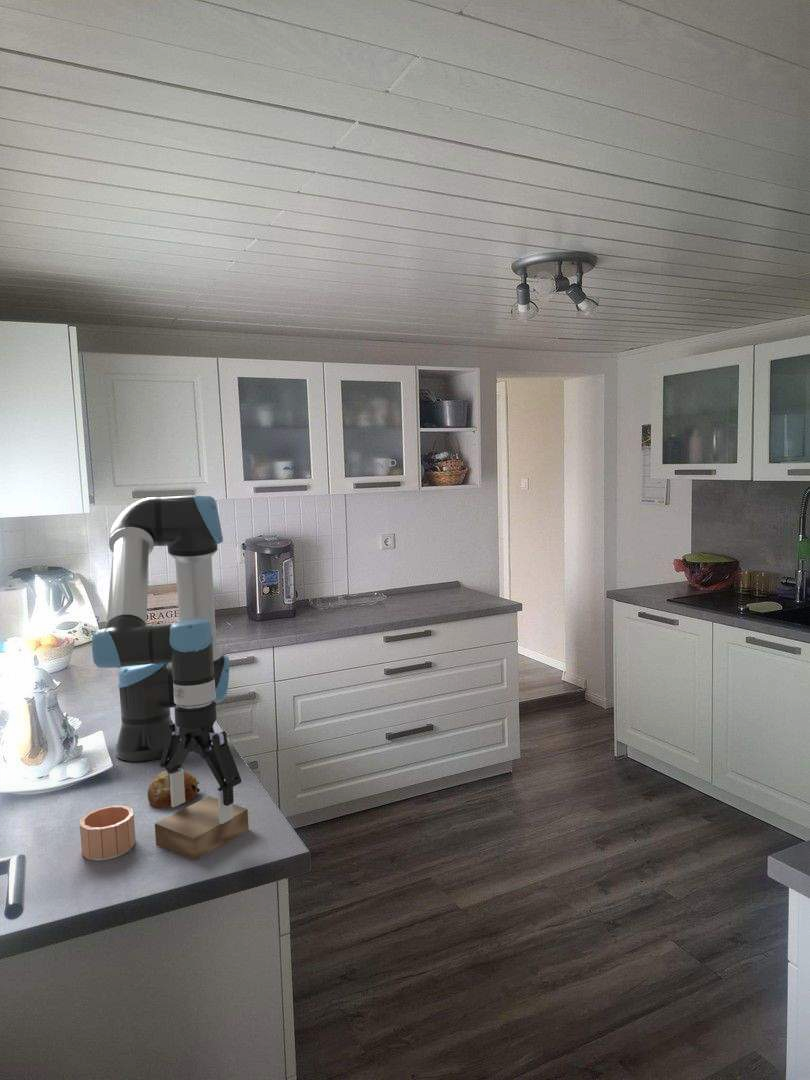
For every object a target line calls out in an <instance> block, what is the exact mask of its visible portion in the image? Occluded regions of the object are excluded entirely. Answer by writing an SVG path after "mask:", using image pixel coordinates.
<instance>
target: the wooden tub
mask: <svg viewBox="0 0 810 1080" xmlns="http://www.w3.org/2000/svg"><path fill="white" fill-rule="evenodd" d="M134 815H135V813H134V809H133V808H132V807H129V806H127V805H109V806H104V807H99V808H96V809H93V810H92V811H90V812H87V813H86V814H84V815H83V816H82V817H81V818H80V819H79V831H80V843H81V844H80V845H81V847H80V848H81V854H82V856H83V857H84V858H85V859H86V860H88V861H89V860H90V861H96V862H98V861H107V860H112V859H115V858H119V857H120V856H123V855H125V854H126V853H128V852H129V851H131V850H132V849H133V847H134V846H135V844H136V842H137V841H136V840H137V839H136V827H135V826H136V825H135V816H134Z"/></svg>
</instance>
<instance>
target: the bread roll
mask: <svg viewBox="0 0 810 1080" xmlns="http://www.w3.org/2000/svg"><path fill="white" fill-rule="evenodd" d="M183 772H184V788H185V802H184V803H182V804H180V805H178V806H177V807H179V806H182V805H184V804H188V803H190V802H191V801H193V800H194V799H195V798H196V796H197V794H198V793H199V792H200V791H201V789H200V788H199V787H198V785H199V784H200V781H198V780H197V778H196V777H195V776H193V775H191V774H189V773H188V772H186V771H184V770H183ZM147 801H148V803H149V804H150V805H151V806H153V807H155V808H161V809H164V808H173V807H172V806H171V792H170V786H169V775H168V772H167V771H166V769H165V770H162V771H161V772H159V773H158V775H156V776H155V777H154V779H152V781H151V782H150V784H149V786H148V788H147Z"/></svg>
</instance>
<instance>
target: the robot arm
mask: <svg viewBox="0 0 810 1080" xmlns="http://www.w3.org/2000/svg"><path fill="white" fill-rule="evenodd" d="M219 515H220V514H219V511H218V506H217V502H216V499H215V498H213V497H212V496H211V495H196V494H194V495H177V496H159V497H158V496H157V497H156V496H152V497H151V496H150V497H146V498H142V499H139V500H138V501H135V502H133V503H132V504H130V505H129V506H128V507H126V508H125V509H124V510H123V511H121V513H120V514H119V515H118V517H117V519H116V520H115V521H114V523H113V524H112V526H111V529H110V532H109V537H108V547H109V549H110V552H111V553H112V559H111V568H110V569H111V570H110V579H109V592H108V593H109V594H108V602H107V612H106V613H107V614H106V615H107V616H106V625H105V627H106V628H105V627H104V628H102V629H97V630H95V631H94V633H93V635H92V637H91V640H92V641H91V652H92V660H93V663H94V665H95V666H96V667H97V668H98V669H119V668H120V669H119V671H118V688H119V702H120V715H121V716H120V717H121V725H120V730H119V733H118V738H117V742H116V744H115V755H117V756H116V758H118V759H119V758H120V759H119V760H121V759H122V761H124V760H126V762H147V761H153V760H157V759H160V761H159V767H160V768H161V769H162V768H163V769H164V768H165V770H166V771H167V772H168V775H169V786H170V792H171V806H172V807H171V808H175V807H179V806H178V805H180V804H182V803H184V802H185V788H184V772H185V771H184V769H182V768H183V763H184V762H185V760H186V758H187V757H188V755H189V754H190V753H193V752H194V753H195V754H198V755H200V757H201V759H203V760H205V761H206V763H207V765H208V768H209V769H210V771H211V773H212V775H213V777H214V779H215V780H216V782H217V784H218V785H219V787H217V788H216V793H217V795H216V796H217V799H218V813H219V823H220V824H223V823H225V822H227V821H229V820H231V819H233V807H232V804H234V801H235V799H234V787H236V786H237V785H240V784H242V778H241V775H240V773H239V770H238V768H237V764H236V762H235V759H234V757H233V754H232V752H231V749H230V746H229V743H228V735H227V732H226V731H225V730H223V731H221V732H215V729H214V724H215V722H216V721H217V718H218V716H217V715H218V713H217V703H221V702H223V701H224V700H225V699H226V698H227V696H228V689H229V679H230V657H229V656H228V655H225V654H224V651H223V649H222V648H221V647H220V646H219V645H217V635H216V633H217V632H216V627H217V626H216V614H215V613H216V611H215V610H216V609H215V597H214V595H215V594H214V577H213V576H214V575H213V561H212V560H213V558H212V557H213V556H214V555H215V554H216V553H217V552H218V544H219V545H220V544H221V543H223V541H224V538H223V537H224V536H223V532H222V527H221V522H220V521H221V520H220V516H219ZM154 547H167V554H168V555H169V556H170V557H172V558H173V559H174V563H175V575H176V576H175V577H176V590H177V592H176V593H177V604H178V605H177V606H178V619H179V620H177V621H176V622H173V623H167V624H156V625H154V624H153V625H147V624H148V623H147V620H148V618H147V617H148V616H147V615H148V592H149V585H148V584H149V567H150V566H149V562H150V561H149V560H150V558H149V557H150V554H151V553H152V552H153V550H154ZM171 708H173V709H174V722H173V720H172V717H171V715H172V714H171ZM183 771H184V772H183ZM180 806H181V805H180Z"/></svg>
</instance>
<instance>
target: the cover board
mask: <svg viewBox="0 0 810 1080" xmlns="http://www.w3.org/2000/svg"><path fill="white" fill-rule="evenodd" d="M232 807H233V819H231V820H229V821H227V822H225V823H223V824H220V823H219V813H218V798H215V797H212V796H211V795H210V796H207V797H204V798H203V799H201V800H199V801H196V802H195V803H193V804H191V805H188V806H187V807H184V808H182V809H181V810H179V811H176V812H175V813H173V814H170V815H168V816H167V817H164V818H162V819H160V820H159V821H155V822H154V834H155V835H154V836H155V844H156V846H159V847H161V848H164V849H166V850H168V851H171V852H174V853H175V854H177V855H181V856H183V857H185V858H187V857H188V859H190V860H192V859H193V861H195V860H196V859H197V860H199V859H201V858H202V857H204V856H206V855H208V854H209V853H211V852H212V850H213V851H214V850H216V849H218V848H220V847H221V846H223V845H224V843H225V844H227V843H228V842H230V841H232V840H233V839H235V838H237V837H239V836H240V835H242V834H244V833H245V832H247V831H249V828H250V827H249V813H248V812H249V811H248V808H245V807H242V806H239V805H237V804H234V803H232ZM236 836H237V837H236ZM231 839H232V840H231ZM229 840H230V841H229ZM222 844H223V845H222ZM219 846H220V847H219ZM217 847H218V848H217ZM210 851H211V852H210ZM208 852H209V853H208ZM207 853H208V854H207ZM205 854H206V855H205ZM203 855H204V856H203ZM201 856H202V857H201ZM200 857H201V858H200ZM198 858H199V859H198ZM197 860H196V861H197Z"/></svg>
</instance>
